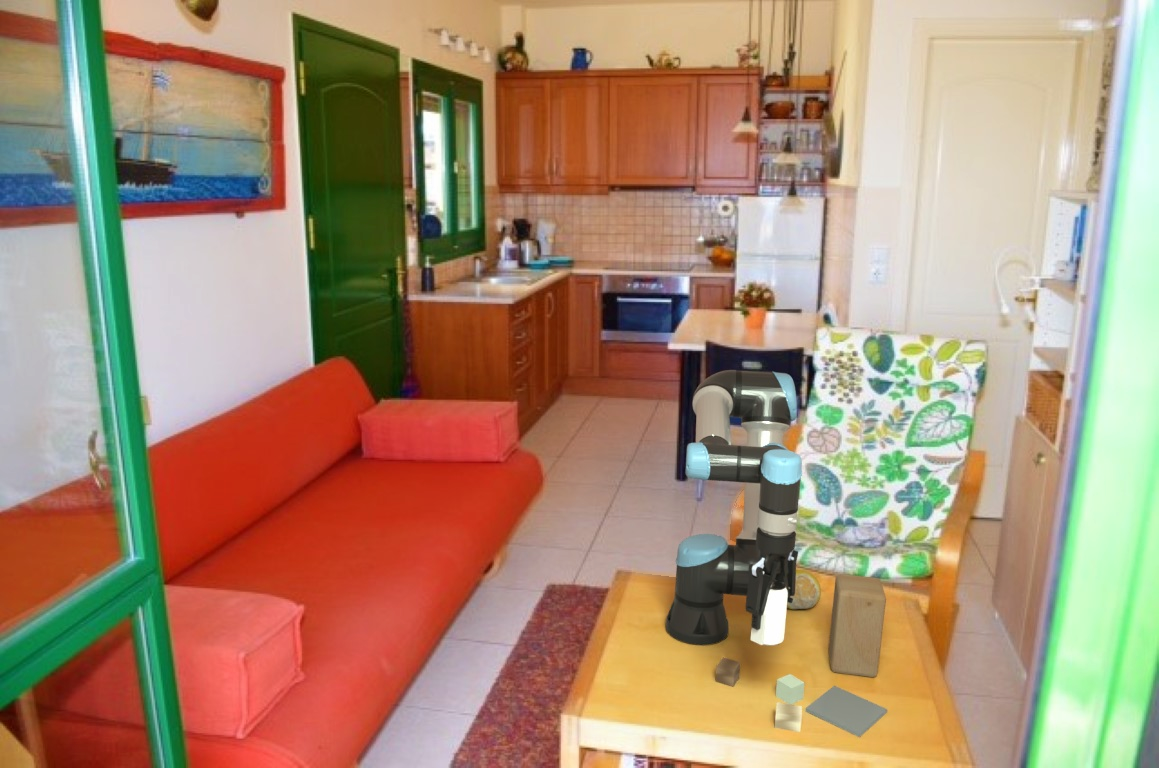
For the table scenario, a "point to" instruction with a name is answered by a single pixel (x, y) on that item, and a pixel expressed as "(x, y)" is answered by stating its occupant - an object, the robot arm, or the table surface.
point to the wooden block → (856, 625)
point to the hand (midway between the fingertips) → (767, 636)
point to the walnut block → (728, 672)
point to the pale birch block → (788, 717)
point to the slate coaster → (846, 710)
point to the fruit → (805, 591)
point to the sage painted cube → (790, 689)
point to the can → (775, 614)
